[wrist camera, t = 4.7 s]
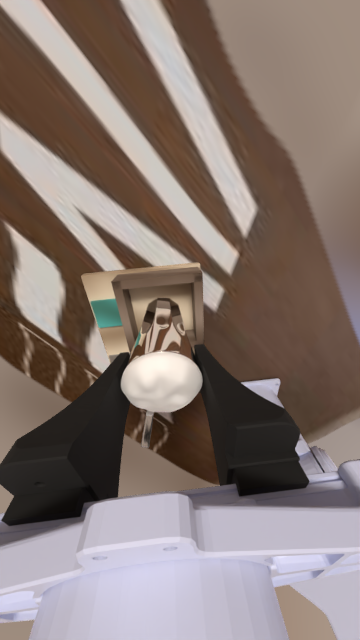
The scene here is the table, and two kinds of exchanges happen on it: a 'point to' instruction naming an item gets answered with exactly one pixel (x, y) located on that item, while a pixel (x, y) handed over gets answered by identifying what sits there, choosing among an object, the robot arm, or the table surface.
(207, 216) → the table surface
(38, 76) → the table surface
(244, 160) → the table surface
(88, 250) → the table surface
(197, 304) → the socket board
